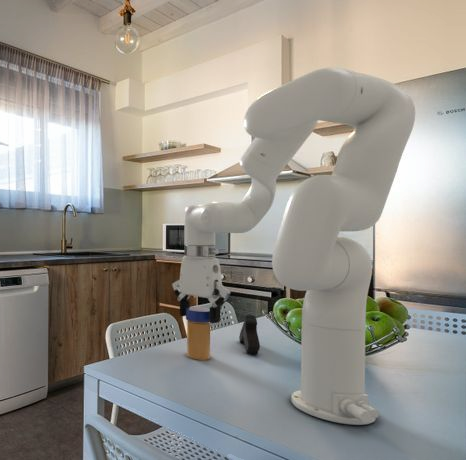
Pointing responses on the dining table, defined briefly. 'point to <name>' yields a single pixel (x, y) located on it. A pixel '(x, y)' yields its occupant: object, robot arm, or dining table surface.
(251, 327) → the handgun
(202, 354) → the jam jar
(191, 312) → the jar lid
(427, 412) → the dining table surface
